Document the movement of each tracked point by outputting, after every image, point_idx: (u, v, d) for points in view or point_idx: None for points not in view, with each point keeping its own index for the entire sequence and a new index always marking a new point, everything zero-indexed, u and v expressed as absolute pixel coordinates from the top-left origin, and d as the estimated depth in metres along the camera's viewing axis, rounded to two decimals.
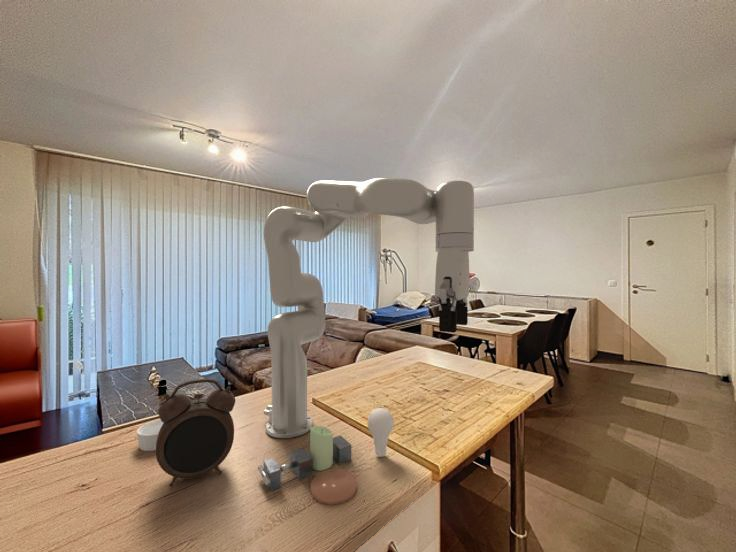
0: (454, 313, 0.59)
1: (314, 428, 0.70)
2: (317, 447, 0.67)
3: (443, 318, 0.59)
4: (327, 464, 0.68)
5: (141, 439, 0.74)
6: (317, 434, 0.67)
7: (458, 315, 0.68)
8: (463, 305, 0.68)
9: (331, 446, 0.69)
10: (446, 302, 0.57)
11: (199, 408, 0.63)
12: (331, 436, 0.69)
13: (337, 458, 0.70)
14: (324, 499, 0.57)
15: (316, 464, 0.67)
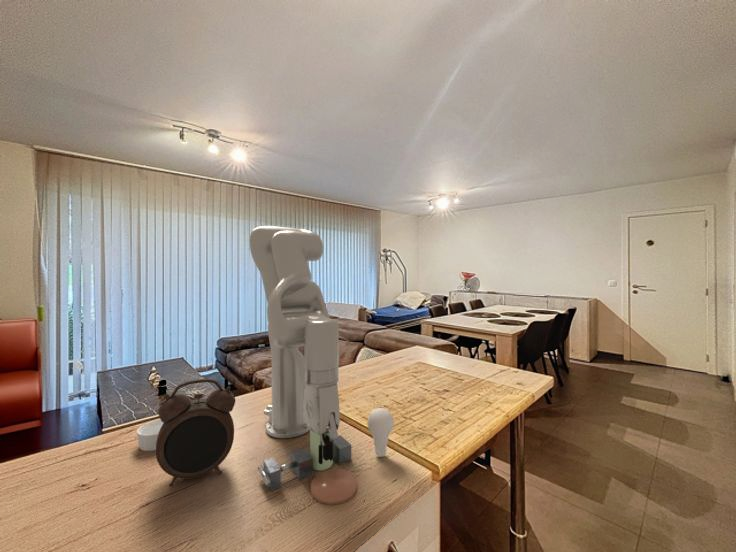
0: (331, 443, 0.68)
1: None
2: (317, 446, 0.67)
3: (325, 452, 0.67)
4: (327, 464, 0.68)
5: (141, 439, 0.74)
6: (317, 434, 0.67)
7: None
8: None
9: None
10: (332, 440, 0.66)
11: (199, 408, 0.63)
12: None
13: (337, 458, 0.70)
14: (324, 499, 0.57)
15: (316, 464, 0.67)
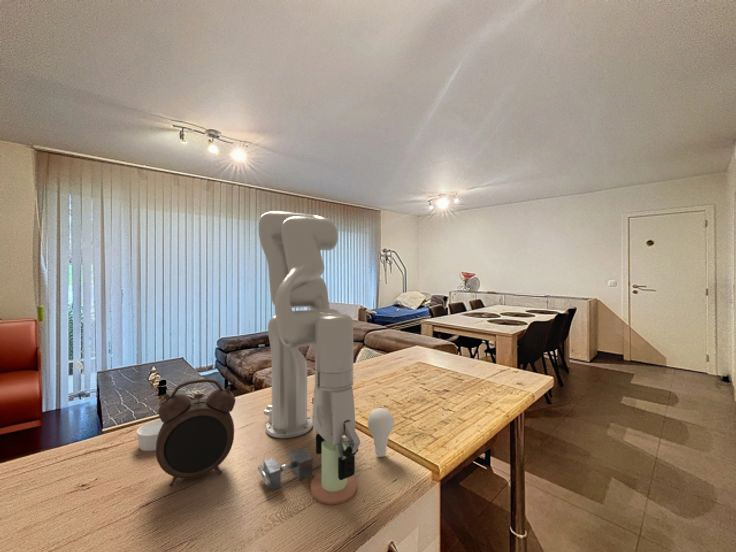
0: (353, 455, 0.58)
1: (326, 443, 0.62)
2: (330, 465, 0.59)
3: (346, 466, 0.57)
4: (341, 484, 0.60)
5: (141, 440, 0.74)
6: (330, 450, 0.59)
7: None
8: None
9: None
10: (356, 451, 0.56)
11: (199, 408, 0.63)
12: None
13: None
14: (324, 499, 0.57)
15: (328, 484, 0.59)
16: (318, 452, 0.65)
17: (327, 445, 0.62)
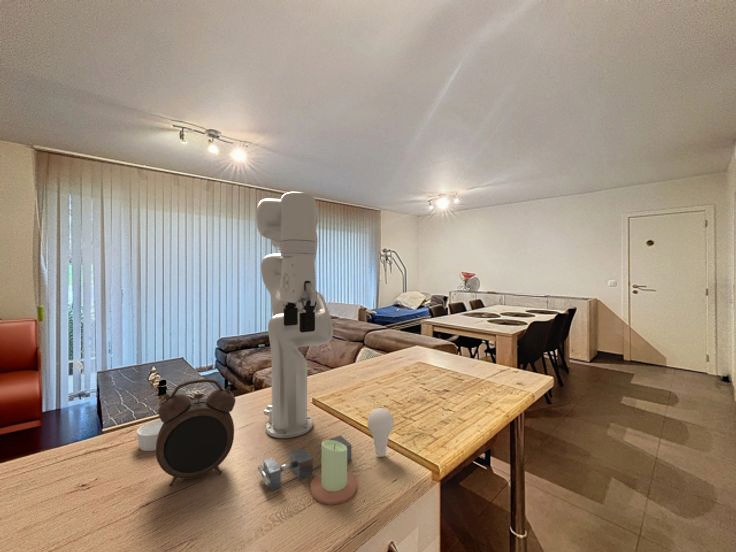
0: (313, 313, 0.65)
1: (326, 443, 0.62)
2: (330, 464, 0.59)
3: (306, 319, 0.64)
4: (341, 484, 0.60)
5: (141, 440, 0.74)
6: (330, 450, 0.59)
7: (290, 316, 0.72)
8: (294, 307, 0.73)
9: (345, 463, 0.61)
10: (314, 304, 0.63)
11: (199, 408, 0.63)
12: (345, 452, 0.61)
13: None
14: (324, 499, 0.57)
15: (328, 484, 0.59)
16: (285, 323, 0.72)
17: (327, 445, 0.62)
